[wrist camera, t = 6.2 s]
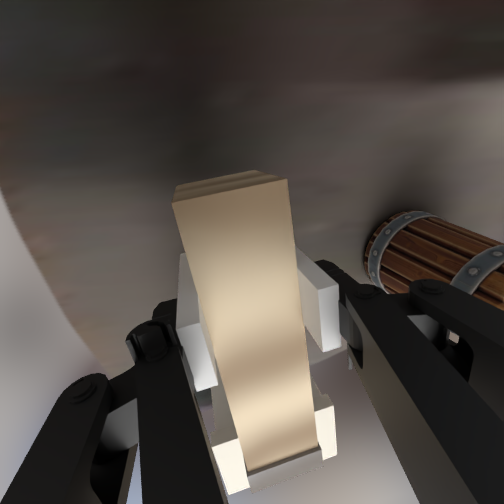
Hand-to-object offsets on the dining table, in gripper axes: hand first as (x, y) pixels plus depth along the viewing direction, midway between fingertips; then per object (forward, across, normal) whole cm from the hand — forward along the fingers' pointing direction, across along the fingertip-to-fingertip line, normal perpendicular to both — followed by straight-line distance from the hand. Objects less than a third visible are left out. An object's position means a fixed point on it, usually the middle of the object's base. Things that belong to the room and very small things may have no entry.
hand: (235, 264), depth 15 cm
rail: (0, 0, -3) cm, 3 cm away
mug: (+14, +23, -12) cm, 29 cm away
